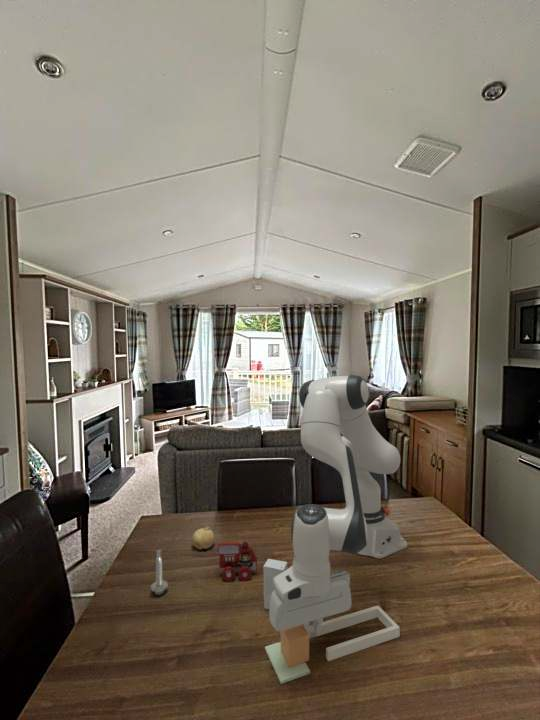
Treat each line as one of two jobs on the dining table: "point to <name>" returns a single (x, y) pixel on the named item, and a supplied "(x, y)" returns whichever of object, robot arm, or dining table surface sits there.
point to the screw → (159, 577)
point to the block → (295, 645)
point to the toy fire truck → (236, 560)
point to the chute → (363, 641)
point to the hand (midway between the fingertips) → (311, 635)
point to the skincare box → (271, 577)
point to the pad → (285, 664)
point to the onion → (203, 538)
